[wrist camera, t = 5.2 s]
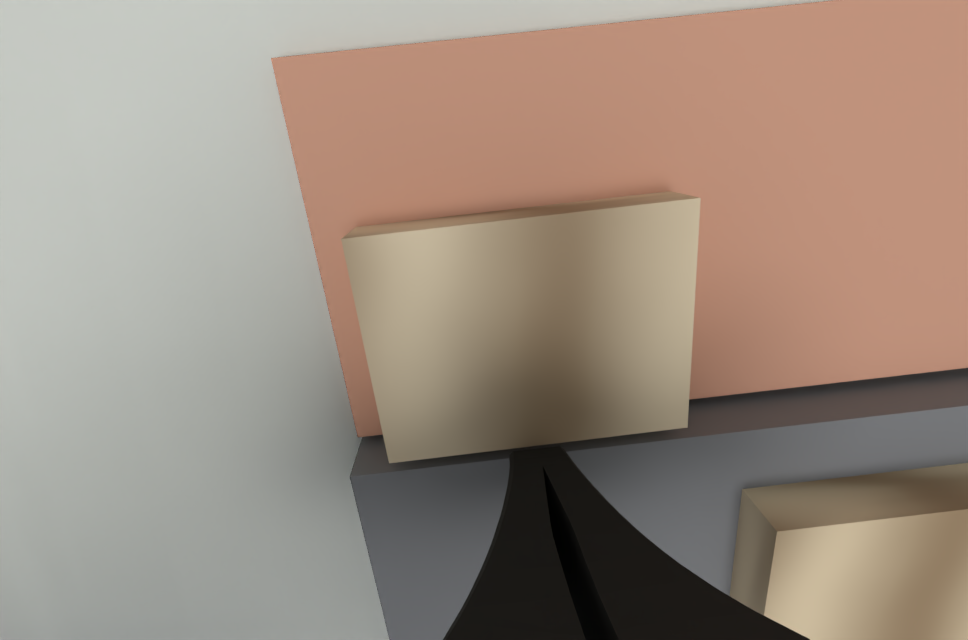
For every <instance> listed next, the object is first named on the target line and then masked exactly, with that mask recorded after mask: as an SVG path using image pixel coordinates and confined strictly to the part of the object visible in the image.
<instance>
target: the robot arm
mask: <svg viewBox="0 0 968 640" xmlns="http://www.w3.org/2000/svg"><path fill="white" fill-rule="evenodd" d="M509 461H510V469H509V478H508V485H507V490H506V495H505V499H504V503H503V508H502V511H501V515H500V518H499V521H498V525H497V528H496V531H495V534H494V537H493V540H492V543H491V545H490V548H489V551H488V553H487V556H486V558H485V561H484V563H483V565H482V568H481V570H480V572H479V574H478V576H477V578H476V581H475V583H474V585H473V587H472V589H471V591H470V593H469V595H468V597H467V599H466V601H465V603H464V605H463V606H462V608H461V610H460V612H459V613H458V615H457V617H456V618H455V620H454V622H453V623H452V625H451V627H450V628H449V630H448V632H447V634H446V635H445V637H444V639H443V640H810V639H809V638H807V637H805V636H803V635H801V634H799V633H797V632H795V631H793V630H791V629H789V628H787V627H785V626H783V625H781V624H779V623H777V622H775V621H773V620H772V619H770V618H768V617H766V616H764V615H762V614H760V613H758V612H756V611H754V610H752V609H751V608H749V607H747V606H745V605H744V604H742V603H740V602H739V601H737V600H735V599H734V598H732V597H730V596H728V595H727V594H725V593H723V592H722V591H720V590H718V589H717V588H715V587H714V586H712V585H711V584H709V583H708V582H706V581H705V580H703V579H702V578H700V577H699V576H697V575H696V574H694V573H693V572H691V571H690V570H688V569H687V568H686V567H684V566H683V565H681V564H680V563H678V562H677V561H676V560H674V559H673V558H672V557H670V556H669V555H668V554H666V553H665V552H664V551H663V550H661V549H660V548H659V547H658V546H656V545H655V544H654V543H653V542H651V541H650V540H649V539H648V538H647V537H645V536H644V535H643V534H642V533H641V532H640V531H639V530H637V529H636V528H635V527H634V526H633V525H632V524H631V523H630V522H629V521H628V520H627V519H626V518H624V517H623V516H622V515H621V514H620V513H619V512H618V511H617V510H616V509H615V508H614V507H613V506H612V505H611V504H610V503H609V502H608V501H607V500H606V499H605V498H604V496H603V495H602V494H601V493H600V492H599V491H598V490H597V489H596V488H595V487H594V486H593V485H592V483H591V482H590V481H589V480H588V479H587V478H586V477H585V475H584V474H583V473H582V472H581V471H580V469H579V468H578V467H577V466H576V464H575V463H574V462H573V461H572V459H571V458H570V457H569V455H568V454H567V453H566V451H565V450H564V449H563V448H562V447H561V446H555V447H546V448H537V449H528V450H519V451H513V452H512V453H511V454H510V455H509Z"/></svg>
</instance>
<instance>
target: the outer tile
mask: <svg viewBox="0 0 968 640" xmlns="http://www.w3.org/2000/svg"><path fill="white" fill-rule="evenodd" d="M730 597H732V598H734V599H735V600H737V601H739V602H740V603H742V604H744V605H745V606H747V607H749V608H751V609H752V610H754V611H756V612H758V613H760V614H762V615H764V616H766V617H768V618H770V619H772V620H773V621H775V622H777V623H779V624H781V625H783V626H785V627H787V628H789V629H791V630H793V631H795V632H797V633H799V634H801V635H803V636H805V637H807V638H809V639H810V640H968V463H962V464H953V465H945V466H936V467H928V468H919V469H910V470H902V471H893V472H885V473H876V474H868V475H859V476H851V477H842V478H833V479H825V480H816V481H808V482H799V483H791V484H782V485H774V486H765V487H757V488H748V489H742V495H741V503H740V512H739V520H738V529H737V537H736V545H735V554H734V562H733V571H732V579H731V587H730Z"/></svg>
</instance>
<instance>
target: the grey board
mask: <svg viewBox="0 0 968 640" xmlns="http://www.w3.org/2000/svg"><path fill="white" fill-rule="evenodd" d="M555 446H561V447H562V448H563V449H564V450H565V451H566V453H567V454H568V455H569V457H570V458H571V459H572V461H573V462H574V463H575V464H576V466H577V467H578V468H579V469H580V471H581V472H582V473H583V474H584V475H585V477H586V478H587V479H588V480H589V481H590V482H591V483H592V485H593V486H594V487H595V488H596V489H597V490H598V491H599V492H600V493H601V494H602V495H603V496H604V498H605V499H606V500H607V501H608V502H609V503H610V504H611V505H612V506H613V507H614V508H615V509H616V510H617V511H618V512H619V513H620V514H621V515H622V516H623V517H624V518H626V519H627V520H628V521H629V522H630V523H631V524H632V525H633V526H634V527H635V528H636V529H637V530H639V531H640V532H641V533H642V534H643V535H644V536H645V537H647V538H648V539H649V540H650V541H651V542H653V543H654V544H655V545H656V546H658V547H659V548H660V549H661V550H663V551H664V552H665V553H666V554H668V555H669V556H670V557H672V558H673V559H674V560H676V561H677V562H678V563H680V564H681V565H683V566H684V567H686V568H687V569H688V570H690V571H691V572H693V573H694V574H696V575H697V576H699V577H700V578H702V579H703V580H705V581H706V582H708V583H709V584H711V585H712V586H714V587H715V588H717V589H718V590H720V591H722V592H723V593H725V594H727V595H728V596H730V587H731V579H732V571H733V562H734V554H735V545H736V537H737V529H738V520H739V512H740V503H741V495H742V489H748V488H757V487H765V486H774V485H782V484H791V483H799V482H808V481H816V480H825V479H833V478H842V477H851V476H859V475H868V474H876V473H885V472H893V471H902V470H910V469H919V468H928V467H936V466H945V465H953V464H962V463H968V368H962V369H953V370H944V371H935V372H927V373H918V374H909V375H900V376H892V377H883V378H874V379H865V380H857V381H848V382H839V383H830V384H821V385H813V386H804V387H795V388H786V389H778V390H769V391H760V392H751V393H743V394H734V395H725V396H716V397H708V398H699V399H690V400H689V412H688V428H680V429H671V430H663V431H655V432H646V433H638V434H630V435H621V436H613V437H605V438H596V439H588V440H580V441H571V442H563V443H555V444H546V445H538V446H530V447H522V448H513V449H505V450H497V451H488V452H480V453H472V454H463V455H455V456H447V457H438V458H430V459H422V460H413V461H405V462H397V463H389V461H388V456H387V452H386V447H385V442H384V438H383V435H374V436H366V437H362V441H361V444H360V447H359V450H358V453H357V456H356V459H355V462H354V465H353V468H352V471H351V475H350V480H351V484H352V488H353V492H354V496H355V500H356V504H357V508H358V512H359V516H360V521H361V525H362V529H363V533H364V537H365V541H366V545H367V549H368V553H369V557H370V561H371V565H372V570H373V574H374V578H375V582H376V586H377V590H378V594H379V598H380V602H381V606H382V610H383V615H384V619H385V623H386V627H387V631H388V635H389V639H390V640H443V639H444V637H445V635H446V634H447V632H448V630H449V628H450V627H451V625H452V623H453V622H454V620H455V618H456V617H457V615H458V613H459V612H460V610H461V608H462V606H463V605H464V603H465V601H466V599H467V597H468V595H469V593H470V591H471V589H472V587H473V585H474V583H475V581H476V578H477V576H478V574H479V572H480V570H481V568H482V565H483V563H484V561H485V558H486V556H487V553H488V551H489V548H490V545H491V543H492V540H493V537H494V534H495V531H496V528H497V525H498V521H499V518H500V515H501V511H502V508H503V503H504V499H505V495H506V490H507V485H508V478H509V469H510V461H509V455H510V454H511V453H512V452H513V451H519V450H528V449H537V448H546V447H555Z"/></svg>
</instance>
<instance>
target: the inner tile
mask: <svg viewBox="0 0 968 640" xmlns="http://www.w3.org/2000/svg"><path fill="white" fill-rule="evenodd" d="M700 201H701V198H699V197H695V196H690V195H686V194H681V193H677V192H672V191H666V192H658V193H649V194H640V195H631V196H623V197H614V198H605V199H596V200H587V201H579V202H570V203H561V204H552V205H544V206H535V207H526V208H517V209H509V210H500V211H491V212H482V213H473V214H465V215H456V216H447V217H438V218H430V219H421V220H412V221H403V222H395V223H386V224H377V225H368V226H360V227H355V228H354V229H353V230H351V231H350V232H349V233H348V234H347V235H345V236H344V237H343V238H342V239H341V241H342V246H343V250H344V255H345V260H346V264H347V269H348V274H349V278H350V283H351V288H352V293H353V297H354V302H355V307H356V311H357V316H358V321H359V325H360V330H361V335H362V339H363V344H364V349H365V353H366V358H367V363H368V367H369V372H370V377H371V381H372V386H373V391H374V396H375V400H376V405H377V410H378V414H379V419H380V424H381V428H382V433H383V438H384V442H385V447H386V452H387V456H388V461H389V463H397V462H405V461H413V460H422V459H430V458H438V457H447V456H455V455H463V454H472V453H480V452H488V451H497V450H505V449H513V448H522V447H530V446H538V445H546V444H555V443H563V442H571V441H580V440H588V439H596V438H605V437H613V436H621V435H630V434H638V433H646V432H655V431H663V430H671V429H680V428H688V412H689V394H690V376H691V359H692V341H693V324H694V306H695V289H696V271H697V254H698V236H699V219H700Z"/></svg>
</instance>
